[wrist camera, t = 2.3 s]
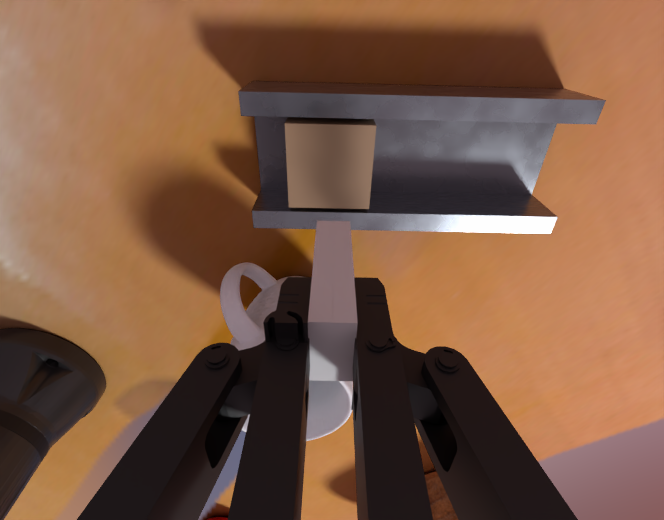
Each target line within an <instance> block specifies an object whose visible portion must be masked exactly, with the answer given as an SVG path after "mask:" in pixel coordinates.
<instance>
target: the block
mask: <svg viewBox="0 0 664 520" xmlns="http://www.w3.org/2000/svg"><path fill="white" fill-rule="evenodd" d="M375 135H376V124H375V121H374V119H353V118H310V117H287V120H286V122H285V140H286V161H287V182H288V202H289V207H292V208H341V209H369V204H370V192H371V181H372V170H373V158H374V147H375Z"/></svg>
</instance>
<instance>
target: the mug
mask: <svg viewBox="0 0 664 520" xmlns="http://www.w3.org/2000/svg"><path fill="white" fill-rule="evenodd" d="M241 275H245V276H247V277H249V278H250V279H252V280H253V281H254V282H255V283H256V284H258V286H259V287H260V288H261V289H262V291H261V292H260V293H259V294H258V295H257V297H255V298H254V300H253V301H252V303H251V304H250V305H249V306H248V309H247V310H246V311H245V310H244V307H243V304H242V301H241V297H240V279H241ZM289 277H302V276H289ZM287 278H288V277H285V278H281V279H279V280H276V279H275V278H274V277H272V276H271V275H270V274H269V273H268V272H267V271H266V270H264V269H263V268H261V267H260V266H258V265H256V264H253V263H249V262H245V263H240V264H237V265H235V266H234V267H232V268H231V269H230V270H229V271H228V272H227V273H226V274H225V276H224V278H223V280H222V284H221V289H220V302H221V309H222V312H223V316H224V319H225V321H226V324H227V326H228V328H229V330H230V332H231V333H232V335H233V336H234V337H233V338H232V340H231V345H234V346H235V347H236V348H237V349H238V350H244V349H248V348H252V347H255V346H257V345H259V344H261V343H263V342H264V341H265V333H264V324H263V322H264V320H265V318H266V317H267V316H268V315H269V314H270V313H271V312H273V311H276V308H277V303H278V298H279V293H280V288H281V284H282V283H283V282H284V281H285V280H286V279H287ZM352 395H353V381H310V380H309V402H308V417H307V432H306V441H309V440H313V439H317V438H320V437H323V436H326V435H328V434H330V433H332V432H333V431H335V430H337V429H338V428H340V427H341V426H342V425H343V424H344V423H345V422H346V421H347V420H348V418H349V416H350V414H351V412H352V410H351V406H352ZM249 417H250V414H249V415H248V417H247V419H246V422H245V424H244V426H243V428H242V431H244V432H246V431H247V426H248V422H249Z"/></svg>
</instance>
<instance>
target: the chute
mask: <svg viewBox="0 0 664 520" xmlns="http://www.w3.org/2000/svg"><path fill="white" fill-rule="evenodd" d="M238 92H239V101H240V110H241V116H254V117H255V128H256V139H257V150H258V160H259V171H260V182H261V190H260V193H259V195H258V197H257V200H256V202H255V205H254V207H253V209H252V217H253V226H254V228H288V229H316V226H317V221H350V227H351V230H390V231H440V232H491V233H542V234H551V232H552V229H553V227H554V224H555V222H556V220H557V216H556V215H555V214H553V213H552V212H551V211H550V210H549V209H548V208H547V207H545V206H544V205H543V204H542V203H541V202H540V201H538V200H537V199H536V198H535V197H534V196H533V195H532V192H533V189H534V186H535V183H536V181H537V178H538V175H539V172H540V169H541V167H542V164H543V161H544V158H545V155H546V152H547V150H548V147H549V144H550V141H551V138H552V136H553V133H554V130H555V127H556V124H557V123H564V124H596V123H597V120H598V118H599V116H600V113H601V111H602V108H603V106H604V104H605V101H606V100H603V99H599V98H596V97H592V96H589V95H585V94H582V93H578V92H575V91H571V90H567V89H559V88H519V87H478V86H438V85H398V84H358V83H318V82H278V81H252V82H251V83H249V84H248V85H246V86H245V87H244V88H242V89H241V90H240V91H238ZM287 117H310V118H353V119H374V121H375V124H376V135H375V147H374V158H373V170H372V181H371V192H370V204H369V209H341V208H292V207H289V202H288V182H287V161H286V140H285V122H286V120H287Z"/></svg>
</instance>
